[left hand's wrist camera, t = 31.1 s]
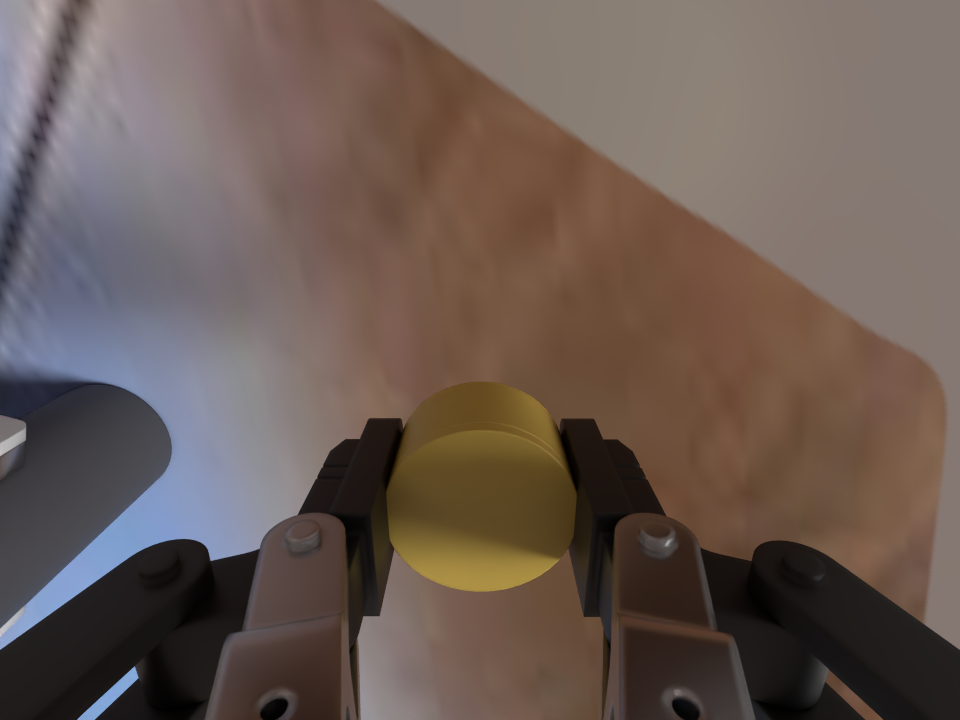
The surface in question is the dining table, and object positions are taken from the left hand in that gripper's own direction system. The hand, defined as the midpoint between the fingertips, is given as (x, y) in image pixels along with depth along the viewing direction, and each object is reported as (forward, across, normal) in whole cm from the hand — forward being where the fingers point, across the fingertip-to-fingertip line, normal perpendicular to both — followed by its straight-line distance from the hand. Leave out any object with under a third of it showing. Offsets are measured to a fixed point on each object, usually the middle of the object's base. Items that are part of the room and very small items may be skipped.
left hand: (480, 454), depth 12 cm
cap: (-2, 0, 0) cm, 2 cm away
